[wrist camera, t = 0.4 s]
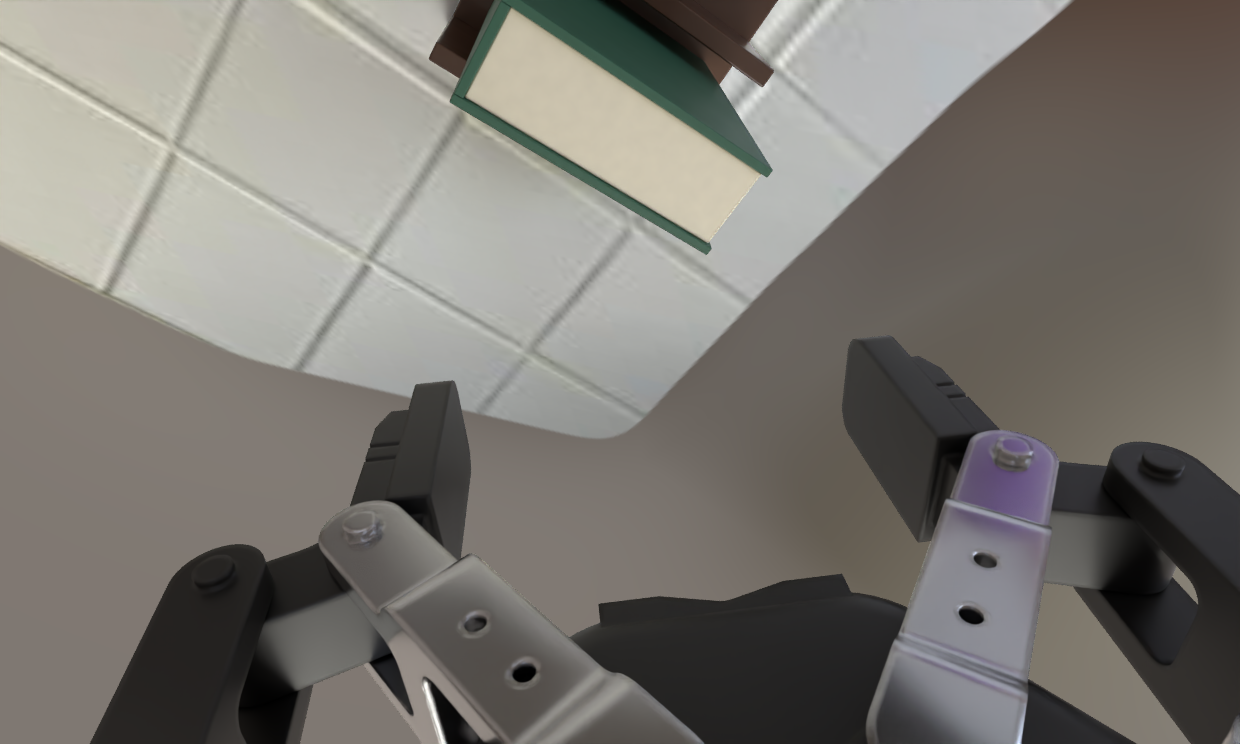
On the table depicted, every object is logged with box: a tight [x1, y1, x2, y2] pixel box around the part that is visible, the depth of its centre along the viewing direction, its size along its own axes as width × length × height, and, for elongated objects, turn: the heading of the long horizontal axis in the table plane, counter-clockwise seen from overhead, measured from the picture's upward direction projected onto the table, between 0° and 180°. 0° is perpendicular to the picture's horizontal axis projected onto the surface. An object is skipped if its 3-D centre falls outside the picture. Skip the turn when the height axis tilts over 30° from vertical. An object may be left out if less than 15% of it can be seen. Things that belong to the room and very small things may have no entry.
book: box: [450, 0, 772, 255], centre depth 28 cm, size 4×10×14 cm, turn 57°
